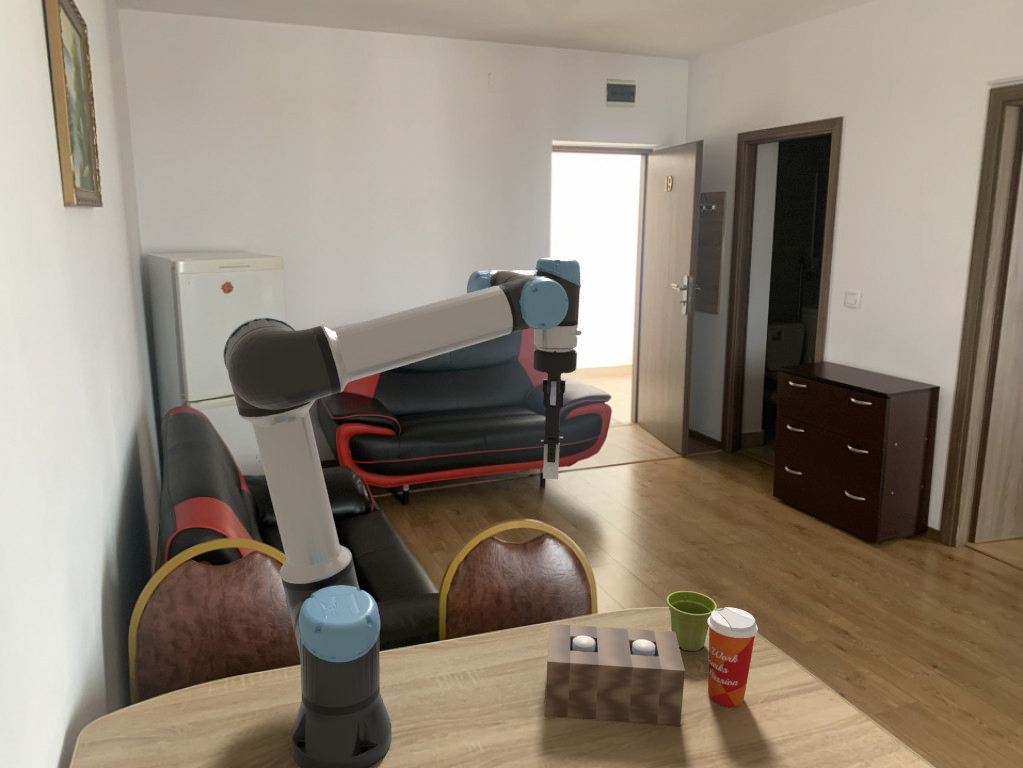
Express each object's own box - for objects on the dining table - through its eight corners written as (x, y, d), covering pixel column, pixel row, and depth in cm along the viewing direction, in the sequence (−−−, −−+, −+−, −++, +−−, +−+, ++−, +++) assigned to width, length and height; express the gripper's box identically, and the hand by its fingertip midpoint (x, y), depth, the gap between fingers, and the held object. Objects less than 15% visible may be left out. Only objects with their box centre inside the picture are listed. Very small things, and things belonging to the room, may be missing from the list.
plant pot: (704, 630, 156) (707, 590, 154) (719, 656, 147) (723, 614, 145) (658, 630, 155) (661, 590, 153) (670, 656, 146) (674, 614, 144)
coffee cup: (691, 689, 136) (697, 611, 133) (727, 678, 139) (734, 601, 136) (724, 717, 128) (732, 634, 125) (761, 704, 132) (770, 623, 129)
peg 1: (570, 700, 131) (572, 646, 129) (570, 687, 135) (572, 634, 133) (592, 702, 131) (595, 648, 129) (592, 688, 134) (595, 636, 132)
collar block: (544, 716, 127) (547, 661, 125) (547, 674, 139) (549, 623, 137) (680, 726, 126) (684, 670, 124) (671, 683, 138) (675, 631, 135)
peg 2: (629, 704, 130) (633, 650, 128) (628, 691, 134) (631, 638, 132) (652, 706, 130) (656, 652, 128) (650, 693, 134) (654, 640, 132)
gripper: (577, 355, 128) (571, 490, 133) (577, 343, 141) (571, 467, 146) (531, 353, 129) (527, 488, 134) (535, 341, 141) (531, 465, 146)
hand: (550, 477), depth 140 cm, fingers closed
